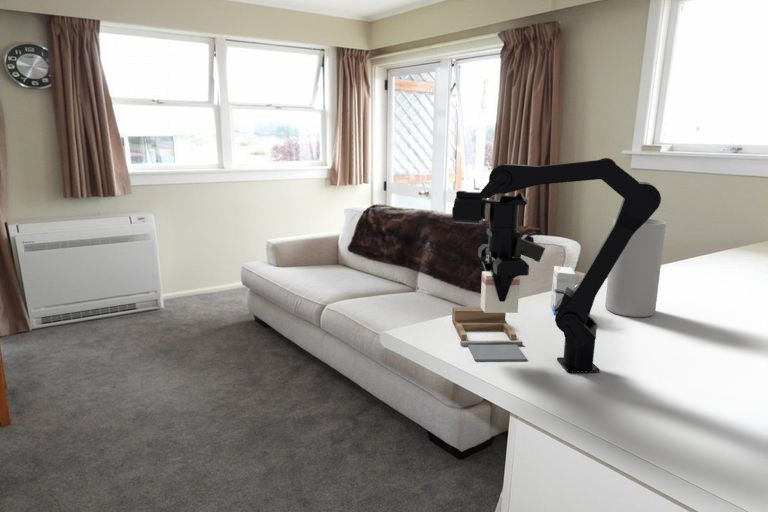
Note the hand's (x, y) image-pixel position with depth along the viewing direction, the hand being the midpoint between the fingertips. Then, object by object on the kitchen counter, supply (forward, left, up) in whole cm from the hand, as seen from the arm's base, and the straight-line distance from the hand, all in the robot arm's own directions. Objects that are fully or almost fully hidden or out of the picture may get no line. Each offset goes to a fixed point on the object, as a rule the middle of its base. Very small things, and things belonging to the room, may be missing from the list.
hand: (499, 298), depth 108 cm
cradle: (+13, 0, -13) cm, 18 cm away
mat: (0, 0, -12) cm, 13 cm away
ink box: (+29, -25, -13) cm, 40 cm away
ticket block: (0, 0, -2) cm, 2 cm away
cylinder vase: (+29, -44, -13) cm, 54 cm away
